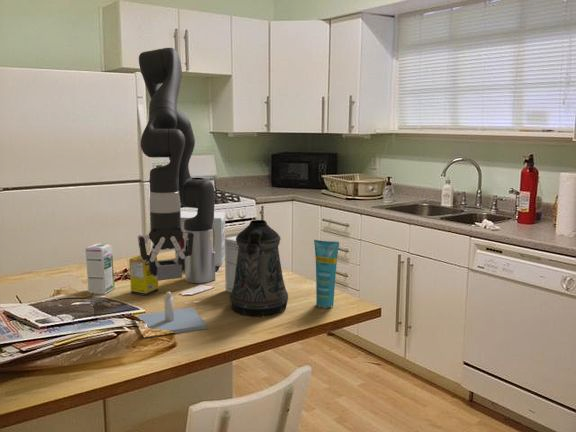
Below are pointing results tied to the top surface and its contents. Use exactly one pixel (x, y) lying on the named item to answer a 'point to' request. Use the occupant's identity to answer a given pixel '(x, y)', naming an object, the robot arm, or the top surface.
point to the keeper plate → (174, 318)
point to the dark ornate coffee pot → (258, 273)
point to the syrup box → (100, 268)
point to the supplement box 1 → (142, 277)
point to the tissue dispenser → (168, 269)
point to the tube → (325, 271)
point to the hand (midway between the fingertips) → (167, 273)
